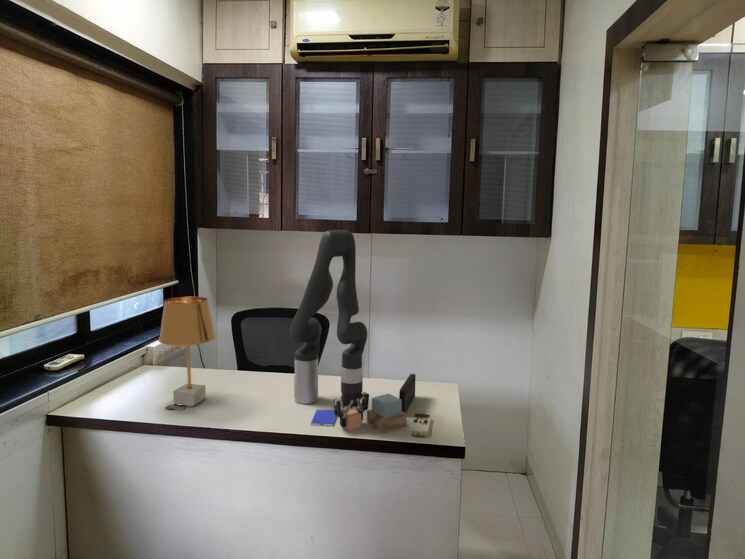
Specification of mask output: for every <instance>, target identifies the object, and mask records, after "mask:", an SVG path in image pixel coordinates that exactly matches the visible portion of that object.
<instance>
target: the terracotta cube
mask: <svg viewBox="0 0 745 559" xmlns="http://www.w3.org/2000/svg"><path fill="white" fill-rule="evenodd" d="M357 411H358V410H355V409H350V410H349V412H347V414H346V417H345V418H346V428H345V429H346V430H348V431H349V430H351V431H354V430H357V429H360V428H362V423H361V413H359V412H357ZM343 413H344V412H343ZM356 428H357V429H356ZM353 429H354V430H353Z"/></svg>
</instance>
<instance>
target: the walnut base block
mask: <svg viewBox="0 0 745 559" xmlns="http://www.w3.org/2000/svg"><path fill="white" fill-rule="evenodd" d="M407 415H408V414H407V412H406V413H405V412H403V411H401V414H397V415H394V416H390V417H387V418H383V417H382V416H380V415H378V414H376V413H374V412H373V411H372V409H367V410H366V423H367V425H370V426H371V427H373V428H375V429H376V430H379V431H380V432H382V433H384V434H385V433H386V434H387V433H389V432H392V431H395V430H398V429H400V428H404V427H406V426H407V422H408V421H407V417H408V416H407Z"/></svg>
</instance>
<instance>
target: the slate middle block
mask: <svg viewBox="0 0 745 559" xmlns="http://www.w3.org/2000/svg"><path fill="white" fill-rule="evenodd" d="M371 410H372V411H373V412H374V413H376V414H378V415H380V416H382V417H383V418H387V417H390V416H394V415H397V414H401V410H402V400H401V399H399V397H397V396H395V395H393V394H391V393H386V394H385V393H384V394H382V395H377V396H374V397H373V396H372V397H371Z"/></svg>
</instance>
